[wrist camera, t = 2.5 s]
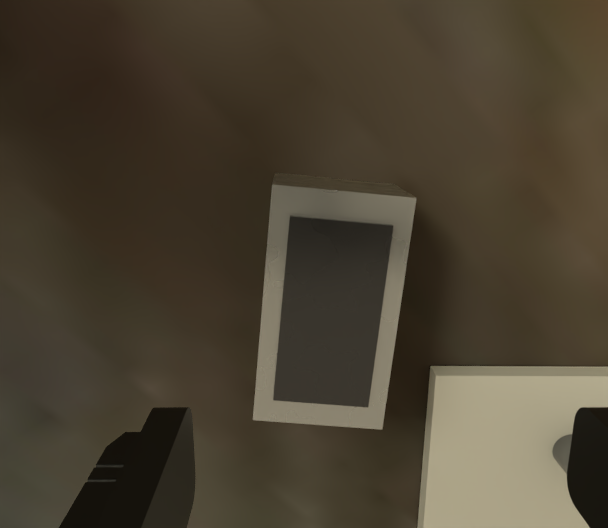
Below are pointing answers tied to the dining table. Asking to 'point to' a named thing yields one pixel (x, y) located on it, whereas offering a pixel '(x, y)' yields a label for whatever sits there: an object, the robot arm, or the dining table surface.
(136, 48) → the dining table surface
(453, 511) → the pin tray
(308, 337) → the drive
